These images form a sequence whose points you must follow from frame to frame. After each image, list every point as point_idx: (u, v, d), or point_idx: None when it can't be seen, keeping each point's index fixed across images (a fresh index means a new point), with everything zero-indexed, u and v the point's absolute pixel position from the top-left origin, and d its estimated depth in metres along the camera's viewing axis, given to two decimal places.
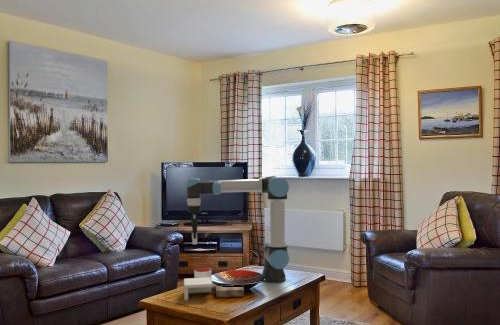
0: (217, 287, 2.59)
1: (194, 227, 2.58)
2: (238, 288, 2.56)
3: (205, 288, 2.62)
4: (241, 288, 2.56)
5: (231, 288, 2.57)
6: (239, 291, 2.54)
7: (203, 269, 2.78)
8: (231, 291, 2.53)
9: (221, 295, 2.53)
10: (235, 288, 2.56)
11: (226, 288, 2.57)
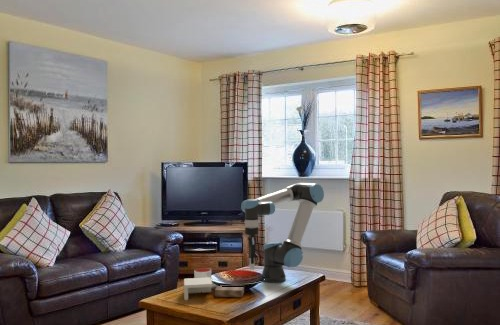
0: (218, 286, 2.60)
1: (252, 253, 2.55)
2: (237, 289, 2.55)
3: (205, 288, 2.62)
4: (240, 289, 2.55)
5: (230, 288, 2.56)
6: (237, 292, 2.53)
7: (203, 269, 2.78)
8: (229, 291, 2.53)
9: (219, 294, 2.54)
10: (234, 288, 2.56)
11: (226, 287, 2.58)
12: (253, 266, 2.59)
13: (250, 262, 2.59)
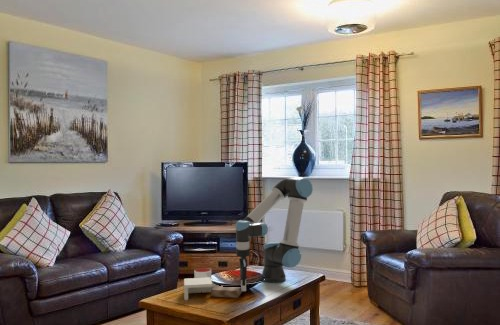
0: (215, 286, 2.60)
1: (244, 275, 2.55)
2: (233, 289, 2.54)
3: (205, 288, 2.62)
4: (236, 289, 2.54)
5: (227, 288, 2.56)
6: (233, 292, 2.52)
7: (203, 269, 2.78)
8: (225, 291, 2.53)
9: (215, 294, 2.54)
10: (230, 289, 2.55)
11: (223, 287, 2.57)
12: (245, 288, 2.58)
13: (241, 284, 2.58)
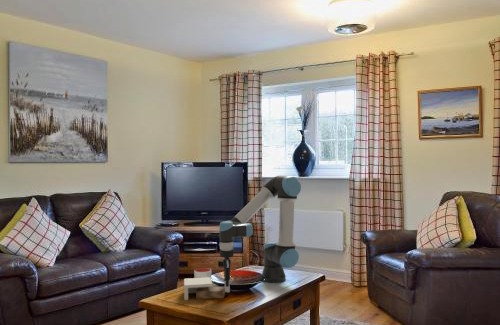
0: (198, 288, 2.57)
1: (227, 276, 2.53)
2: (219, 289, 2.54)
3: None
4: (222, 290, 2.53)
5: (212, 289, 2.54)
6: (219, 293, 2.51)
7: (203, 269, 2.78)
8: (211, 292, 2.51)
9: (201, 296, 2.51)
10: (216, 289, 2.54)
11: (207, 289, 2.55)
12: (228, 289, 2.57)
13: (225, 285, 2.57)
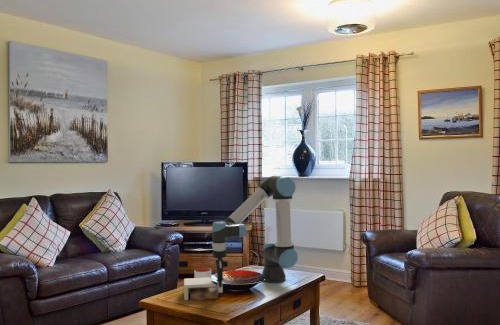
0: (191, 290, 2.55)
1: (220, 277, 2.53)
2: (212, 290, 2.53)
3: None
4: (215, 290, 2.53)
5: (205, 290, 2.53)
6: (213, 293, 2.50)
7: (203, 269, 2.78)
8: (205, 293, 2.50)
9: (195, 298, 2.49)
10: (209, 290, 2.53)
11: (200, 290, 2.54)
12: (221, 289, 2.56)
13: (218, 285, 2.56)
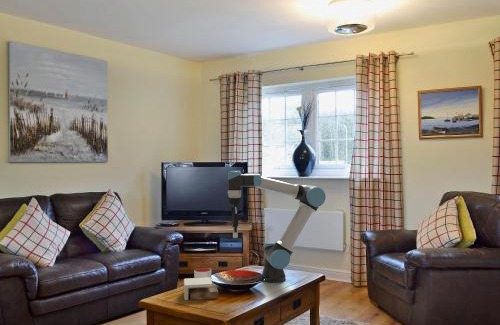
0: (191, 289, 2.55)
1: (235, 222, 2.66)
2: (212, 290, 2.53)
3: None
4: (215, 290, 2.53)
5: (205, 290, 2.53)
6: (213, 293, 2.51)
7: (203, 269, 2.78)
8: (205, 293, 2.50)
9: (195, 298, 2.49)
10: (209, 290, 2.53)
11: (200, 290, 2.54)
12: (236, 235, 2.69)
13: (233, 231, 2.69)
